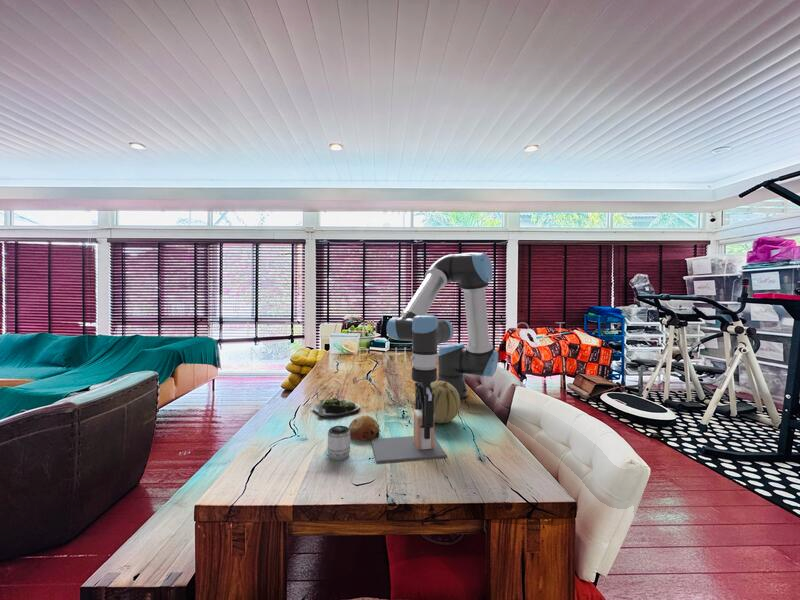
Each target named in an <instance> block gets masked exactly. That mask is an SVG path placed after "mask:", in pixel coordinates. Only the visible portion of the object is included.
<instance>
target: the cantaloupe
mask: <svg viewBox="0 0 800 600" xmlns="http://www.w3.org/2000/svg"><path fill="white" fill-rule="evenodd" d="M430 385H431V387H432V394H433V393H434V395H435V396H434V423H436V424H447V423H450V422H451V421H453V420H454V419H455V418H456V417H457V416H458V414H459V411H460V407H461V399H460V396H459V393H458V392H457V390H456V389H455V388H454V387H453V386H452V385H451V384H450V383H448V382H445V381H437V380H436V381H435V382H432V383H431V384H430Z"/></svg>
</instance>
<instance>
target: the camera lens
mask: <svg viewBox="0 0 800 600" xmlns="http://www.w3.org/2000/svg"><path fill="white" fill-rule="evenodd" d="M350 451H351V438H350V429H349V426H344V425H336V426H331V427H330V428H329V429H328V431H327V454H328V458H329V459H330V460H332V461H333V460H334V461H343V460H346V459H347V458H348V457H349V456H350Z"/></svg>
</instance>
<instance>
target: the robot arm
mask: <svg viewBox="0 0 800 600" xmlns="http://www.w3.org/2000/svg"><path fill="white" fill-rule="evenodd" d="M493 275H494V274H493V265H492V261H491V259H490V257H489V256H488V254H486V253H484V252H468V253H466V252H465V253H450V254H446V255H444V256H442V257H440V258H439V259H437V260H436V261H434V262H433V263H432V264H431V265H430V267H428V269H427V271H426V272H425V274H424V279H423V280H422V283H421V284H420V286H419V287H418V288H417V289H416V292H414V294H413V296H412V298H411V299H410V301H409V302H408V303H407V305H406V307H405V309H404V310H402V313H401V314H400V316H399V317H392V318H389V320H388V321H387V322H386V334H387V336H388V337H389V338H390V339H391V340H397V341H406V342H407V341H408V342H412V345H411V347H412V349H411V354H412V356H410V357H409V358H410V360H411V366H412V368H411V380H412V381H414V382H415V383H414V391H415V394H414V395H415V396H414V398H415V401H414V410H421V409H422V423H423V425H422V426H420V428H421V449H431V428H433V427H434V428H435V422H434V396H435V395H434V393H433V394H432V387H431V385H430V384H431V383H432V382H435V381H445V382H448V383H450V384H451V385H452V386H453V387H454V388H455V389H456V390H457V392H458V393H459V396H460V398H462V399H464V398H463V397H465V396H467V397H468V388H467V385H466V382H465V377H464V376H465V375H472V376H477V377H483V378H484V377H487V378H488V377H489V378H490V377H491V378H492V377H493V376H494V375H495V373H496V371H497V367H498V365H499V364H498V363H499V351H498V350H496V349H494V345H493V343H491V342H490V338H489V324H488V322H489V321H488V308H487V298H486V289H487V287H488V286H489V283H490V282H491V281H492V280H493ZM449 283H458V284H459V289H460V290H462V291H463V297H464V306H465V307H464V308H465V309H464V310H465V318H466V326H467V327H466V328H467V339H468V342H467V344H466V345H465V344H464V343H460V342H459V343H447V342H448V341H450V340H451V339H452V338H453V336H454V332H455V329H454V326H453V324H452V322H451V321H449V320H448V319H438V318H437V316H436V315H430V314H429V315H428V311H429V310H430V309H431V307H432V304H433V303H434V301H435V300H436V298H437V297H438V295H439V293H440V291H441V289H443V288H445V286H447V284H449ZM445 343H447V344H445ZM440 344H442V345H440ZM438 345H440V346H439V347H438ZM465 398H466V397H465Z"/></svg>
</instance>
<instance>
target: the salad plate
mask: <svg viewBox="0 0 800 600" xmlns="http://www.w3.org/2000/svg"><path fill="white" fill-rule="evenodd" d="M312 410H313V411H314V412H315V413H317V414H318V415H319V416H321V417H323V418H325V419H338V418H344V417H348V416H351V415H355V414H357V413H358V412H359V411H360V410H361V405H359V404H357V403H355V402H353V401H351V400H349V399H344V398H343V399H340V398H336V397H332V398H325V400H324V399H320V400H319V403H317V404H314V405H313V406H312Z"/></svg>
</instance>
